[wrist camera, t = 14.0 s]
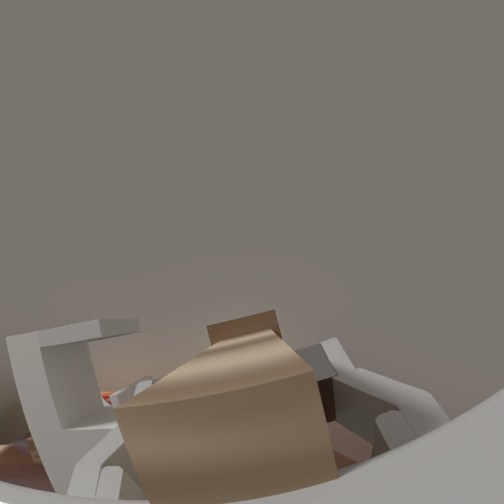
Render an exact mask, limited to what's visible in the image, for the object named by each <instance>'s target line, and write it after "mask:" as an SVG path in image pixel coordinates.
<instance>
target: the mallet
mask: <svg viewBox="0 0 504 504" xmlns="http://www.w3.org/2000/svg"><path fill="white" fill-rule="evenodd" d="M207 330H208V334H209V338H210V341H211V345H212V346H211V347H209V348H208V349H206V350H205V351H203V352H202V353H200V354H199V355H197V356H196V357H194V358H193V359H192V360H190V361H189V362H187V363H185V364H184V365H182V366H181V367H179V368H178V369H176V370H174V371H173V372H171V373H170V374H168V375H167V376H165V377H164V378H162V379H160V380H159V381H157V382H156V383H154V384H152V385H151V386H149V387H148V388H146V389H144V390H143V391H141V392H140V393H138V394H136V395H135V396H133V397H132V398H130V399H128V400H127V401H125V402H123V403H122V404H120V405H118V406H117V407H115V408H113V410H114V413H115V416H116V420H117V423H118V426H119V429H120V432H121V434H122V437H123V440H124V443H125V446H126V448H127V451H128V454H129V456H130V459H131V461H132V464H133V466H134V469H135V471H136V474H137V476H138V479H139V481H140V483H141V486H142V488H143V490H144V492H145V495H146V497H147V499H148V501H149V503H150V504H225V503H232V502H239V501H246V500H252V499H258V498H263V497H268V496H273V495H278V494H283V493H287V492H291V491H296V490H300V489H304V488H307V487H311V486H315V485H318V484H322V483H325V482H329V481H332V480H335V479H338V478H339V476H338V472H337V467H336V462H335V458H334V453H333V449H332V445H331V440H330V435H329V431H328V427H327V422H326V418H325V414H324V409H323V405H322V401H321V396H320V392H319V388H318V384H317V380H316V376H315V372H314V369H313V368H311V367H310V366H309V365H308V364H307V363H306V362H305V361H304V360H303V359H302V358H301V357H300V356H299V355H298V354H296V353H295V352H294V351H293V350H292V349H291V348H290V347H289V346H288V345H287V344H286V343H285V342H284V341H283V340H282V337H281V333H280V329H279V325H278V321H277V317H276V313H275V310H271V311H267V312H263V313H259V314H255V315H252V316H247V317H243V318H239V319H235V320H231V321H227V322H222V323H218V324H214V325H209V326H207Z"/></svg>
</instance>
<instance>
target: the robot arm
mask: <svg viewBox="0 0 504 504" xmlns="http://www.w3.org/2000/svg"><path fill="white" fill-rule="evenodd" d="M294 352H295V353H296V354H298V355H299V356H300V357H301V358H302V359H303V360H304V361H305V362H306V363H307V364H308V365H309V366H310V367H311V368H313V369H314V372H315V376H316V380H317V384H318V388H319V392H320V396H321V401H322V405H323V409H324V414H325V418H326V422H327V423H328V422H332V421H335V420H336V422H338V423H339V424H341V425H343V426H344V427H345V428H347V429H348V430H350V431H351V432H353V433H355V434H356V435H358V436H359V437H361V438H363V439H364V440H366V441H367V442H369V443H371V444H372V445H373V449H372V457H371V458H369V459H367V460H364V461H361V462H359V463H356V464H353V465H350V466H347V467H344V468H341V469H338V470H337V472H338V476H339V478H338V479H335V480H332V481H329V482H325V483H322V484H318V485H315V486H311V487H307V488H304V489H300V490H296V491H291V492H287V493H283V494H278V495H273V496H268V497H263V498H258V499H252V500H246V501H239V502H232V503H225V504H504V388H503V389H501V390H500V391H498V392H497V393H495V394H494V395H493V396H491V397H489V398H488V399H486V400H485V401H483V402H482V403H480V404H478V405H477V406H475V407H474V408H472V409H470V410H469V411H467V412H465V413H464V414H462V415H460V416H459V417H457V418H455V419H453V420H450V419H449V418H448V416H447V415H446V414H445V412H444V411H443V410H442V408H441V407H440V406H439V405H438V403H437V402H436V401H435V399H434V398H433V397H432V396H431V394H430V393H429V392H426V391H423V390H420V389H418V388H414V387H412V386H409V385H406V384H403V383H401V382H398V381H395V380H392V379H390V378H387V377H384V376H381V375H379V374H376V373H373V372H371V371H368V370H366V369H363V368H359V369H356V368H355V366H354V365H353V363H352V361H351V360H350V358H349V357H348V355H347V353H346V352H345V350H344V348H343V347H342V345H341V344H340V342H339V341H338V339H337V338H332V339H329V340H326V341H322V342H320V343H318V344H315V345H311V346H308V347H304V348H301V349H297V350H294ZM159 380H160V379H155V380H148V381H141V382H139V383H138V384H137V386H136V390H135V393H134V396H135V395H136V394H138V393H140V392H141V391H143V390H144V389H146V388H148V387H149V386H151V385H152V384H154V383H156V382H157V381H159ZM0 504H150V503H149V501H148V499H147V497H146V495H145V492H144V490H143V488H142V486H141V483H140V481H139V479H138V476H137V474H136V471H135V469H134V466H133V464H132V461H131V459H130V456H129V454H128V451H127V448H126V446H125V443H124V440H123V437H122V434H121V432H120V429H119V426H118V425H117V426H116V427H115V428H114V429H113V430H112V431H110V432H109V433H108V434H107V435H106V436H105V437H104V438H103V439H102V440H101V441H100V442H99V443H98V444H97V445H96V446H95V447H93V448H92V449H91V450H90V451H89V452H88V453H87V454H86V455H85V456H84V457H83V458H82V459H81V460H79V461H78V462H77V463H76V465H75V468H74V471H73V475H72V478H71V481H70V485H69V488H68V492H67V495H64V494H58V493H52V492H46V491H41V490H35V489H31V488H26V487H22V486H17V485H13V484H9V483H5V482H2V481H0Z"/></svg>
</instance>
